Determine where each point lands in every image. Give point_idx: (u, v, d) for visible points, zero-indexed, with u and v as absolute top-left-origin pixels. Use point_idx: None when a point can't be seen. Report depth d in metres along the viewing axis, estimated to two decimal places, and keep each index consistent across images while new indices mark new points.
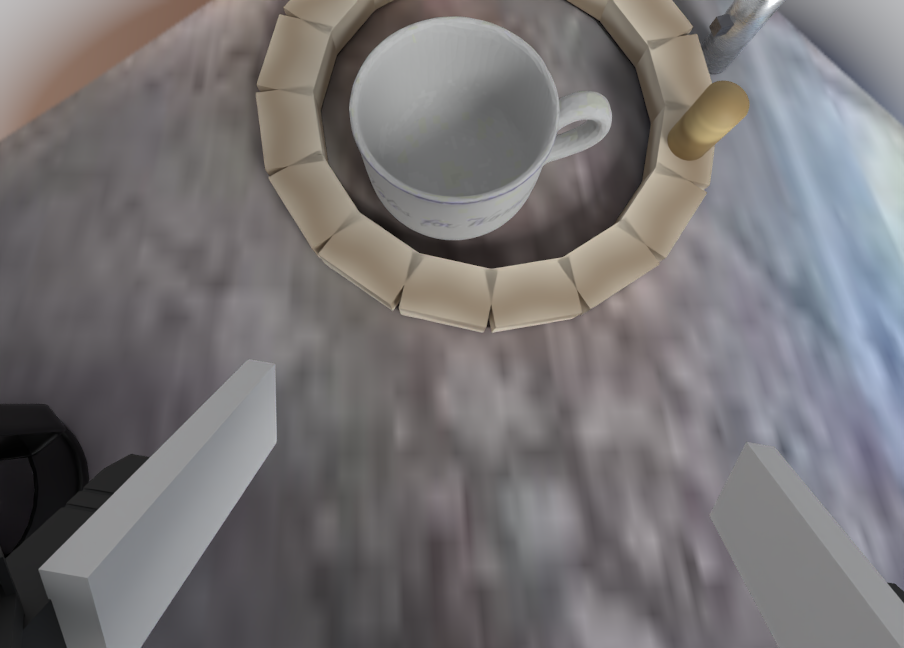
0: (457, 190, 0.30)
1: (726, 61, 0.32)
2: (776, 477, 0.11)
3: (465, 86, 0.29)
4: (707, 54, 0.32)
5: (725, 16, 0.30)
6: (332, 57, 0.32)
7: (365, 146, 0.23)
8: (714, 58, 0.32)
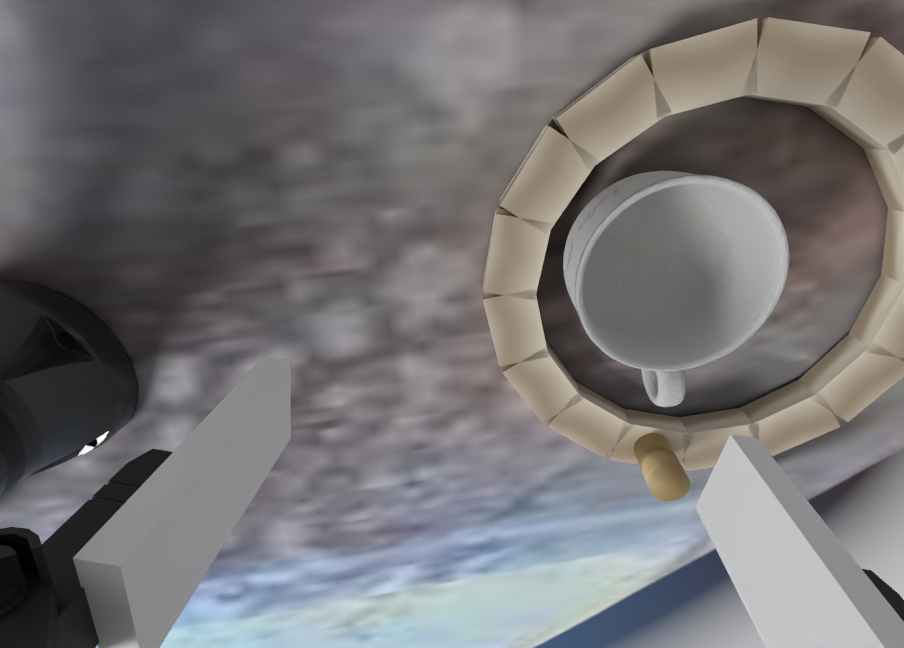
0: (620, 256, 0.31)
1: None
2: (758, 468, 0.12)
3: (728, 266, 0.29)
4: None
5: None
6: (800, 104, 0.27)
7: (640, 197, 0.23)
8: None
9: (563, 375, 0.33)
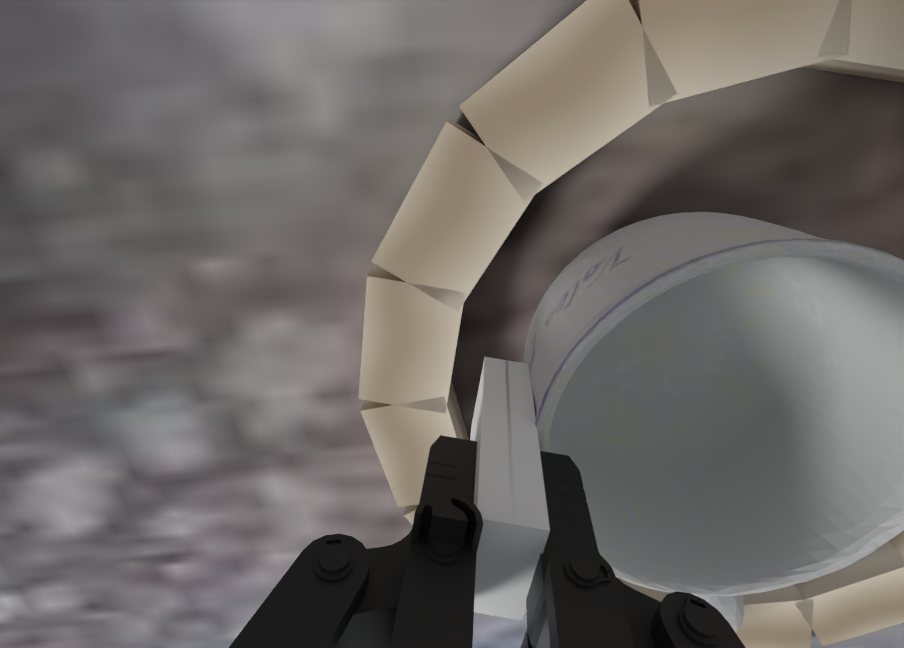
0: (623, 348, 0.18)
1: None
2: (509, 382, 0.14)
3: (818, 381, 0.16)
4: None
5: None
6: None
7: (671, 286, 0.10)
8: None
9: None
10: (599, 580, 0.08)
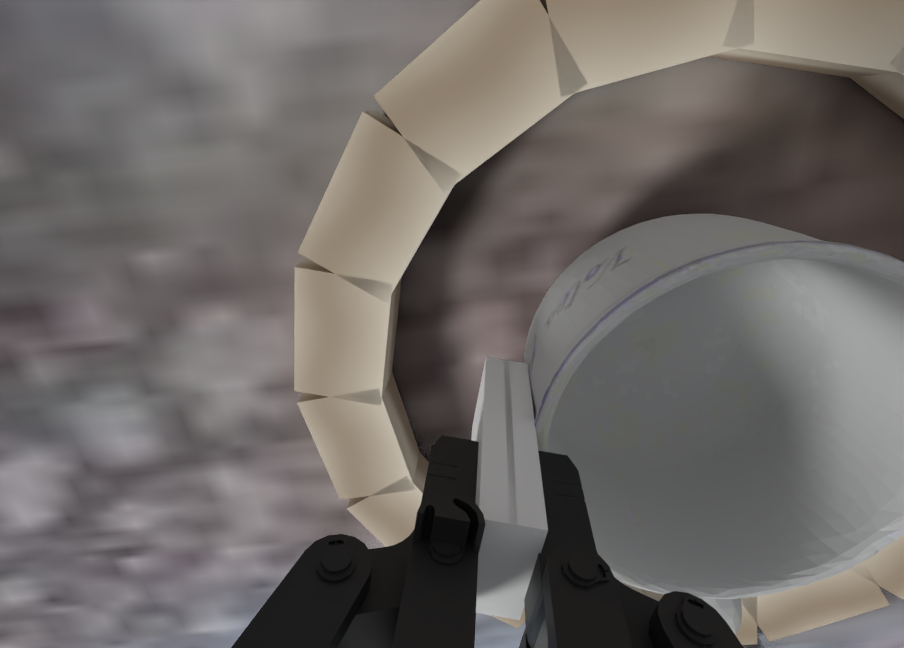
0: (624, 349, 0.18)
1: None
2: (507, 382, 0.14)
3: (818, 384, 0.16)
4: None
5: None
6: (837, 72, 0.14)
7: (673, 287, 0.10)
8: None
9: None
10: (597, 580, 0.08)
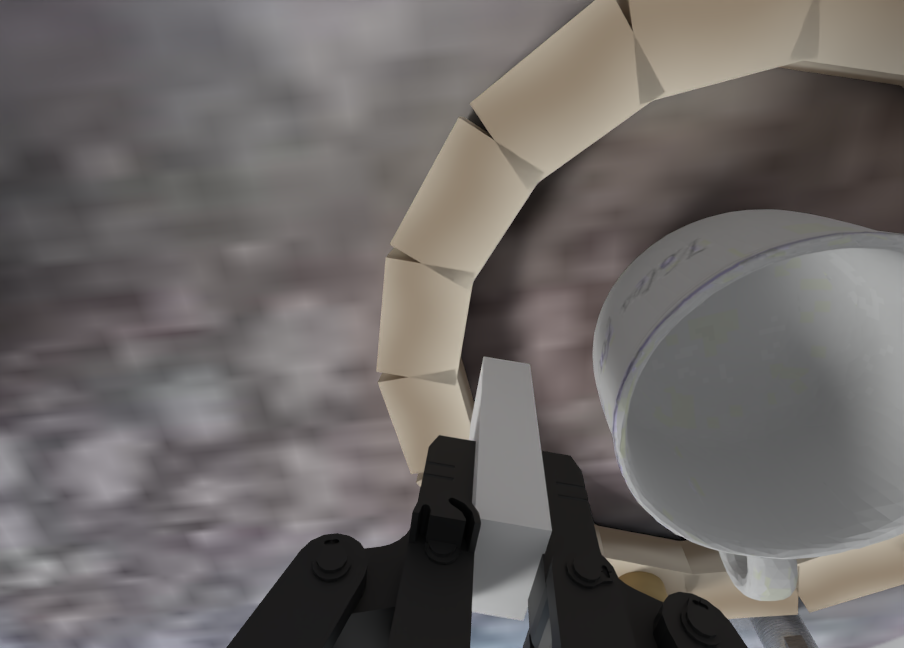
0: (683, 335, 0.20)
1: (754, 625, 0.26)
2: (510, 382, 0.14)
3: (872, 369, 0.17)
4: None
5: None
6: (890, 81, 0.16)
7: (750, 271, 0.12)
8: None
9: None
10: (601, 581, 0.08)
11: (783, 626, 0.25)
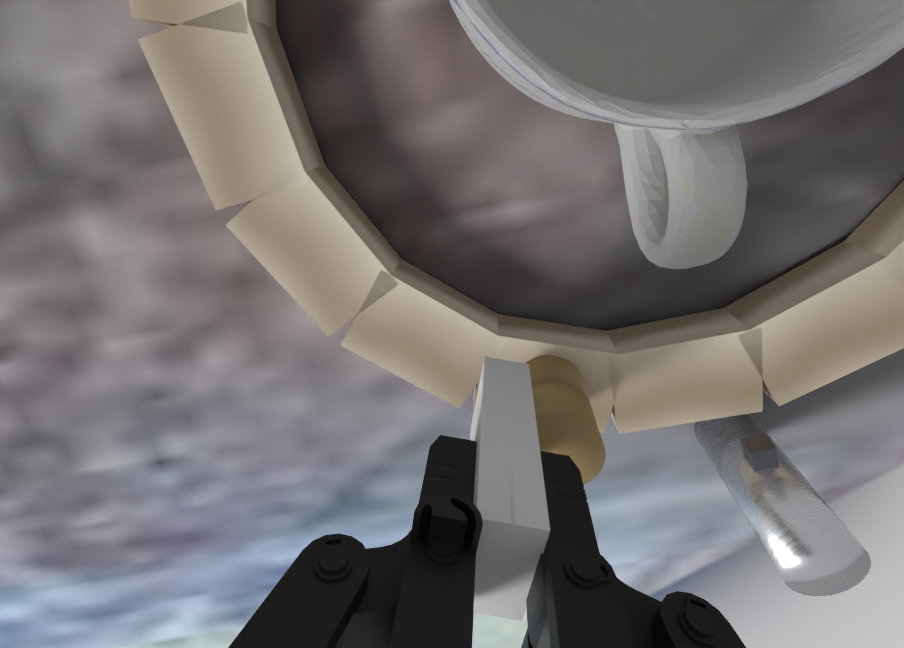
0: None
1: (706, 449, 0.20)
2: (509, 382, 0.14)
3: None
4: (724, 423, 0.19)
5: (773, 461, 0.16)
6: None
7: None
8: (714, 432, 0.19)
9: (348, 227, 0.16)
10: (599, 580, 0.08)
11: (741, 436, 0.18)
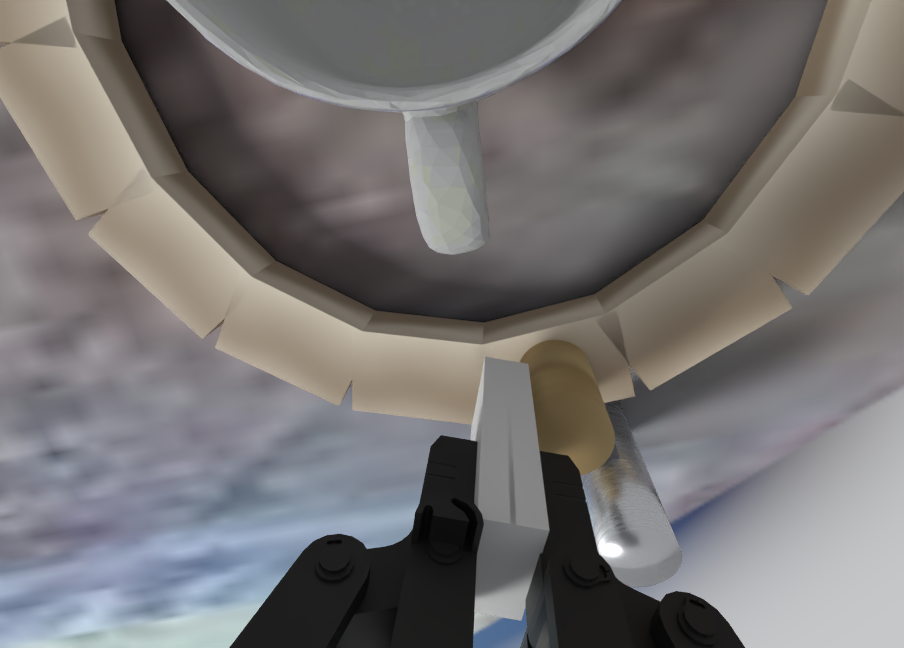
0: None
1: None
2: (508, 382, 0.14)
3: None
4: None
5: (614, 453, 0.16)
6: None
7: None
8: None
9: (307, 306, 0.17)
10: (598, 580, 0.08)
11: None
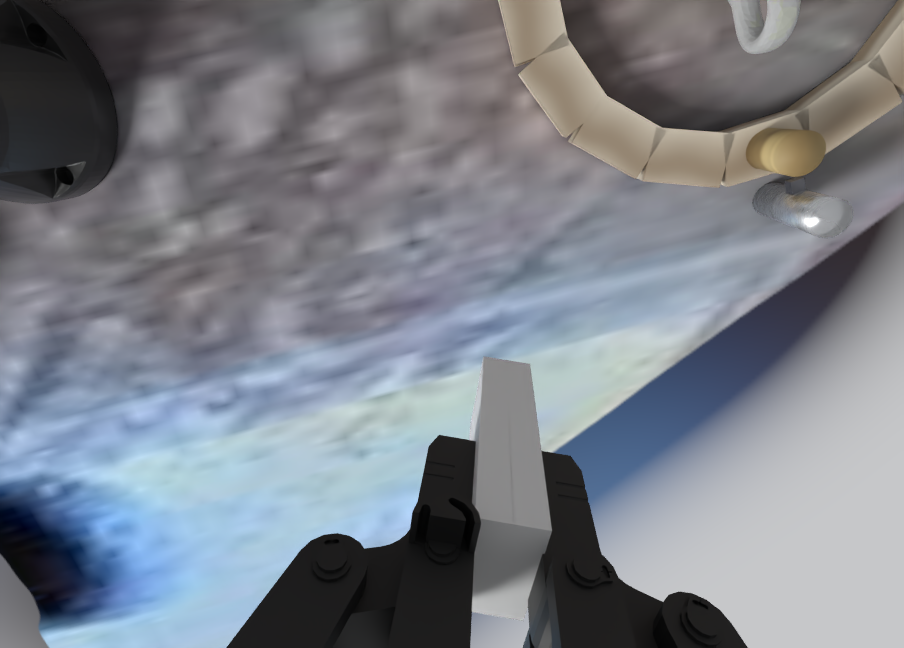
0: None
1: (761, 205, 0.34)
2: (510, 382, 0.14)
3: None
4: (772, 187, 0.34)
5: (803, 186, 0.31)
6: None
7: None
8: (766, 193, 0.34)
9: (634, 113, 0.31)
10: (601, 581, 0.08)
11: (783, 188, 0.33)
